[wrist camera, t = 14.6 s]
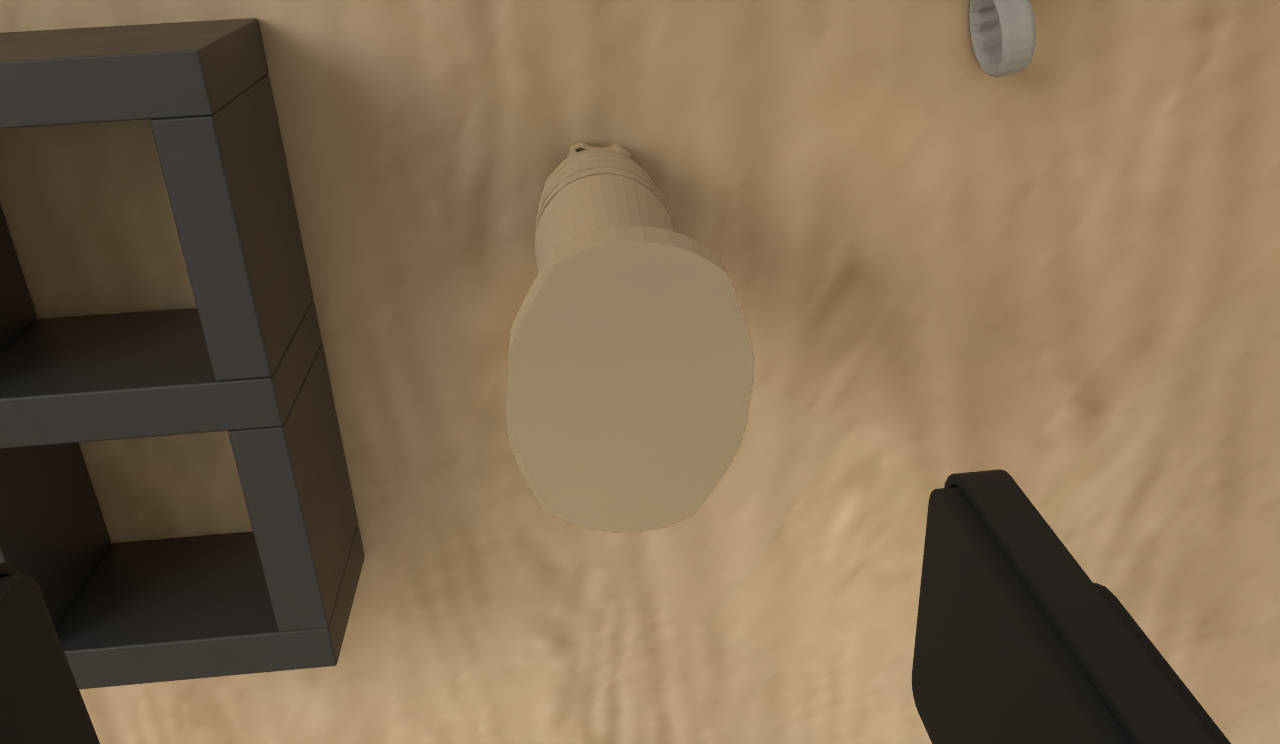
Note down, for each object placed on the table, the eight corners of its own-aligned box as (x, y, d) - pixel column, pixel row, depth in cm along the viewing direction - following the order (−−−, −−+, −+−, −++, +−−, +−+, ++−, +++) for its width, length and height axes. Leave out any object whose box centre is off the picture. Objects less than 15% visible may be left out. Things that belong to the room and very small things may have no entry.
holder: (-112, 39, 30) (-253, 76, 25) (258, 18, 31) (197, 49, 25) (79, 582, 39) (4, 697, 34) (365, 557, 39) (337, 666, 34)
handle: (679, 92, 33) (773, 250, 19) (658, 282, 36) (729, 536, 22) (525, 80, 32) (513, 234, 19) (516, 274, 35) (501, 529, 22)
